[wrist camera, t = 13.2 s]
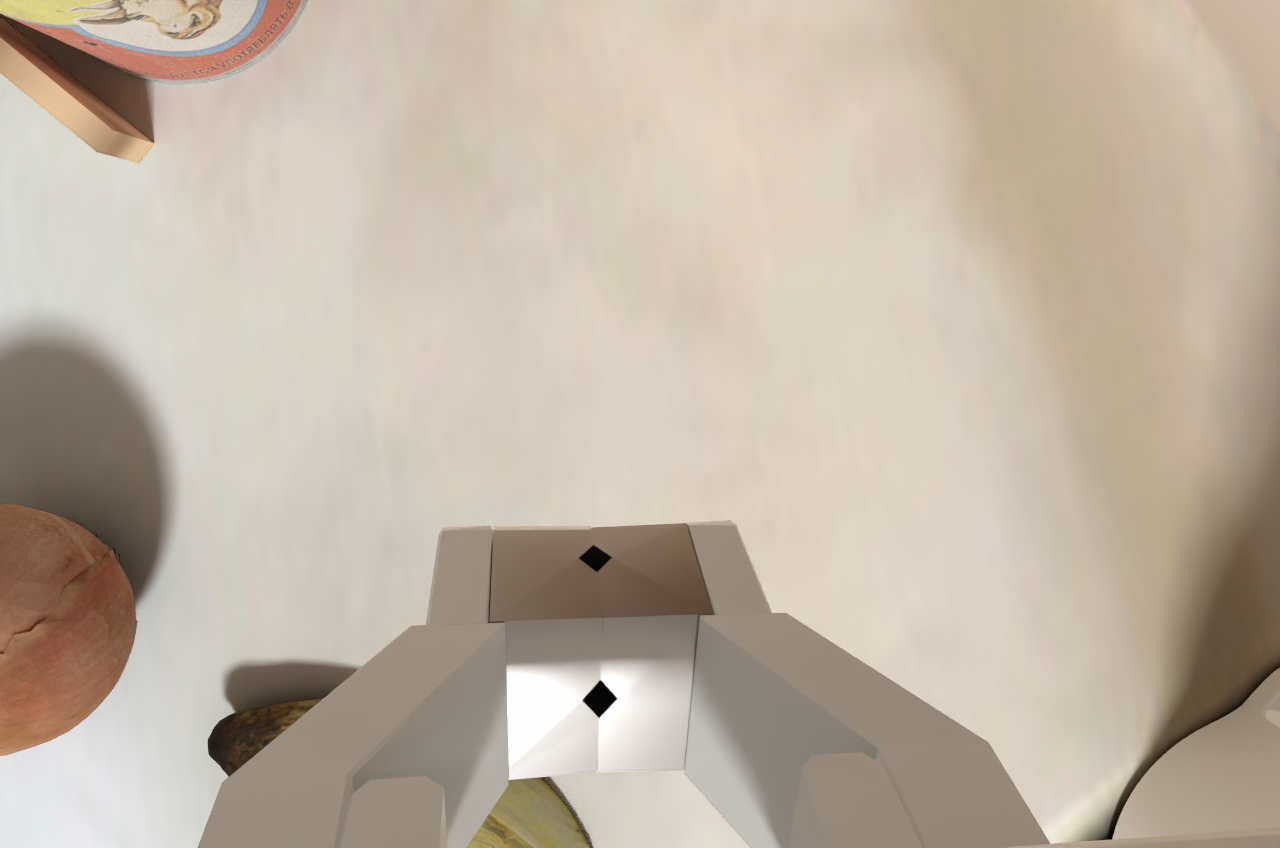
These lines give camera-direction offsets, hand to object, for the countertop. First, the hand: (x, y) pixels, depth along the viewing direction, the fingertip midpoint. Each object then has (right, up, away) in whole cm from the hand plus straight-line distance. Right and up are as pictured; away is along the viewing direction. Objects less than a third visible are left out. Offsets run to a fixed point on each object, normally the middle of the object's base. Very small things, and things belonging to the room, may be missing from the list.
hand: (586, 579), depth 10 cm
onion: (-24, -5, +29) cm, 38 cm away
